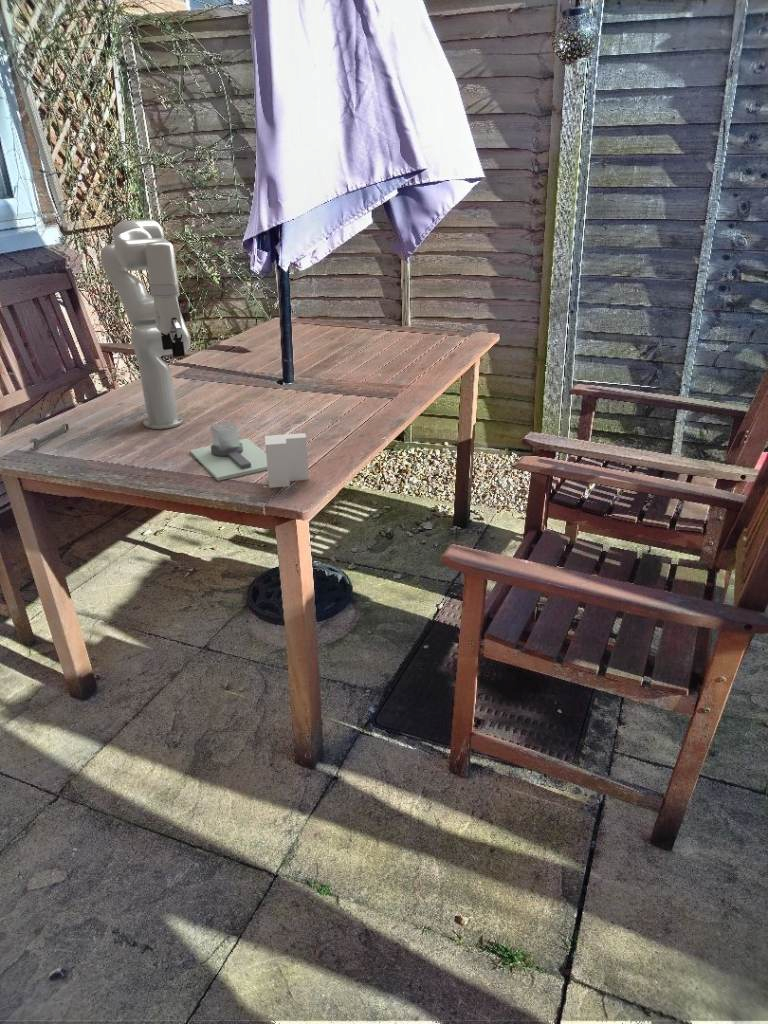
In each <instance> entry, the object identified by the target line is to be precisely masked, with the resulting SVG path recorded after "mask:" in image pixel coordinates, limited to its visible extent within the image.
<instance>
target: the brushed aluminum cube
mask: <svg viewBox="0 0 768 1024" xmlns="http://www.w3.org/2000/svg"><path fill="white" fill-rule="evenodd" d="M210 428H211V429H210V432H211V438H212V445H214V446H215V447H216V448H217V449H218V450H219V451H224V450H229V449H234V448H239V447H240V442H239V440H240V434H239V427H238V426H237V425H235V424H234V423H233V422H232V421H227V422H222V423H216V424H212V425H210Z"/></svg>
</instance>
